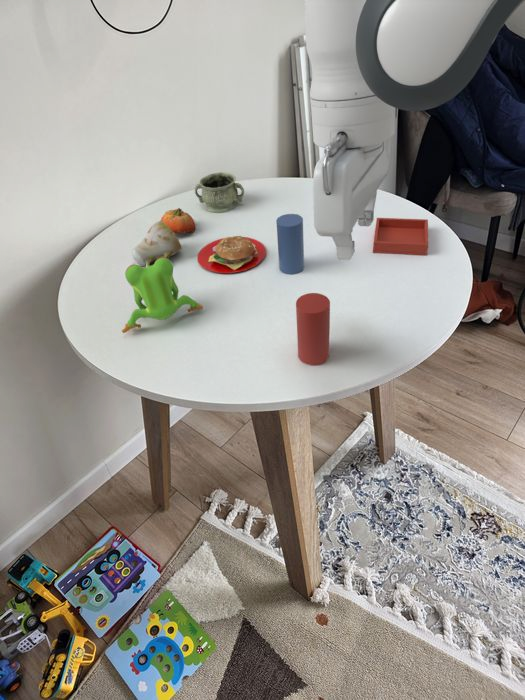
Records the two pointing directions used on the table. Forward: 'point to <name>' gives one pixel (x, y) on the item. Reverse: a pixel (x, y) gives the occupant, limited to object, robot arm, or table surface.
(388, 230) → the red tray
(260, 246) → the hamburger
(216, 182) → the vessel
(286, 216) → the blue canister
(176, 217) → the tomato
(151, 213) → the table surface
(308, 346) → the red canister
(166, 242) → the mug
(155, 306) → the toy
